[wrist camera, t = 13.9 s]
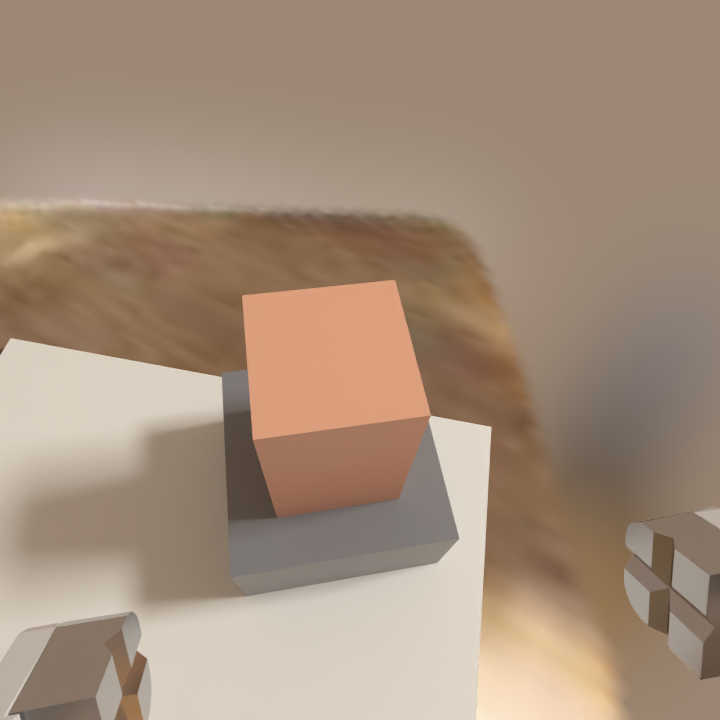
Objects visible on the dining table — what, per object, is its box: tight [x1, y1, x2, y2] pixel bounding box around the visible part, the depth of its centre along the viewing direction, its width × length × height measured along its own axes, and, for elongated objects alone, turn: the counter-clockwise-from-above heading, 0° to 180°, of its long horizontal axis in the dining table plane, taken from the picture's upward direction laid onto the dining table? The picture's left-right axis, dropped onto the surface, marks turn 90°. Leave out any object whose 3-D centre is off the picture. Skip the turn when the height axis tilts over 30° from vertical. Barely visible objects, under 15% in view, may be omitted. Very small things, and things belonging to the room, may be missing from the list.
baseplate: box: [0, 338, 491, 720], centre depth 26 cm, size 28×18×1 cm, turn 80°
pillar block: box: [242, 280, 431, 518], centre depth 19 cm, size 5×5×8 cm
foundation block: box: [222, 370, 459, 596], centre depth 25 cm, size 9×9×5 cm
